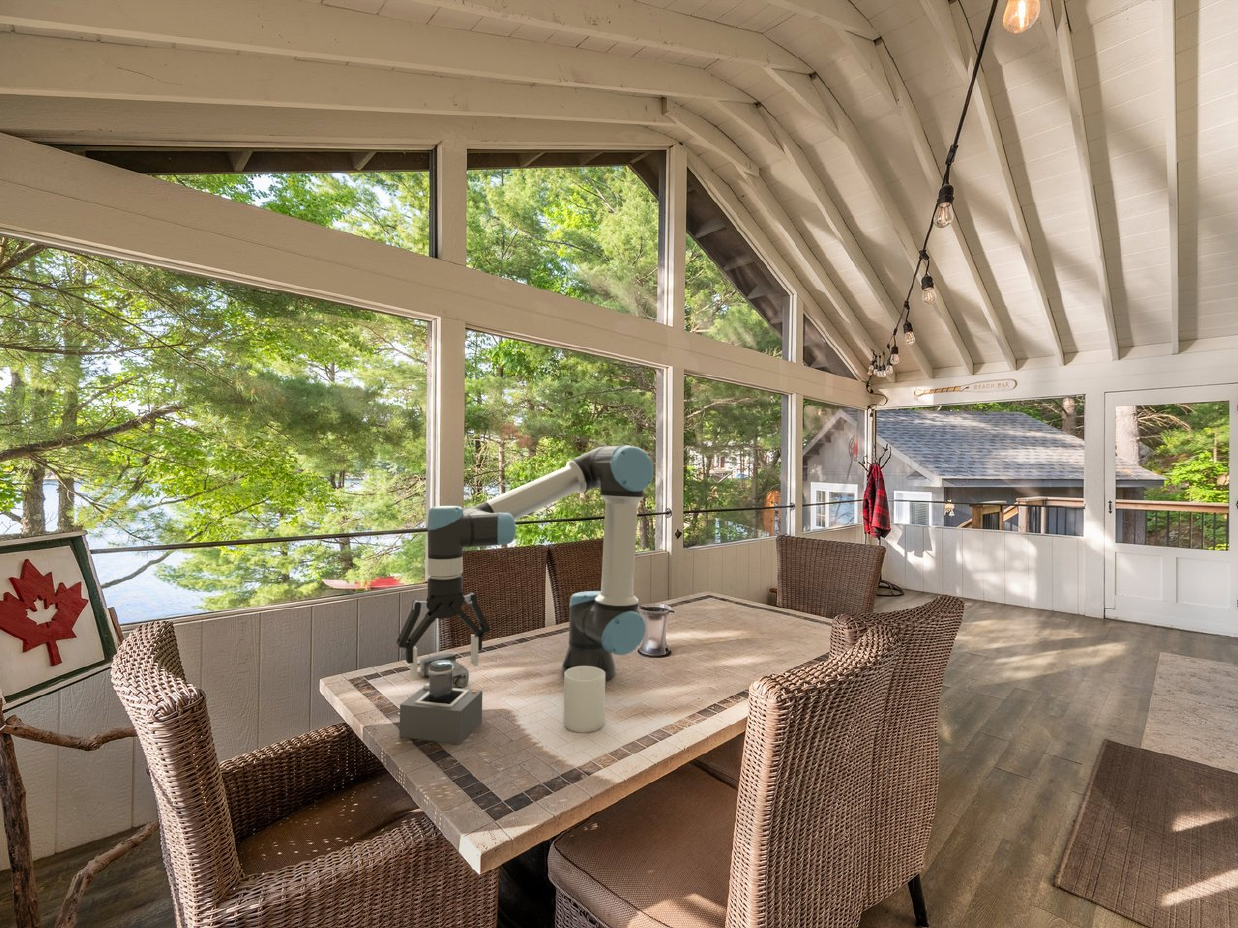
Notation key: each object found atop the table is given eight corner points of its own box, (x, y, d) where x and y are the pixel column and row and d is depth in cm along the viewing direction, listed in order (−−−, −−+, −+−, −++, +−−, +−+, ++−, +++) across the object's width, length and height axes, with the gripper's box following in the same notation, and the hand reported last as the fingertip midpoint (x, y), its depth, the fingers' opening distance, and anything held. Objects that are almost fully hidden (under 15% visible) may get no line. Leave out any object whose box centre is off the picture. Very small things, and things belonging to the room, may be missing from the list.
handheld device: (447, 696, 144) (447, 677, 144) (414, 673, 158) (415, 657, 158) (481, 686, 150) (481, 669, 150) (447, 665, 165) (447, 649, 165)
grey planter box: (481, 720, 130) (482, 687, 130) (459, 744, 119) (460, 707, 119) (425, 714, 132) (426, 681, 132) (399, 736, 121) (400, 700, 121)
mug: (588, 737, 123) (589, 684, 123) (546, 723, 129) (547, 672, 129) (612, 721, 131) (613, 671, 131) (571, 708, 137) (572, 660, 137)
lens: (457, 704, 127) (457, 659, 127) (445, 714, 122) (446, 668, 122) (435, 702, 128) (436, 658, 128) (423, 712, 123) (424, 666, 123)
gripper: (492, 566, 136) (491, 654, 136) (382, 579, 121) (382, 676, 122) (504, 572, 129) (504, 664, 130) (390, 585, 115) (390, 688, 116)
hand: (445, 670), depth 126 cm, fingers open, 13 cm apart
